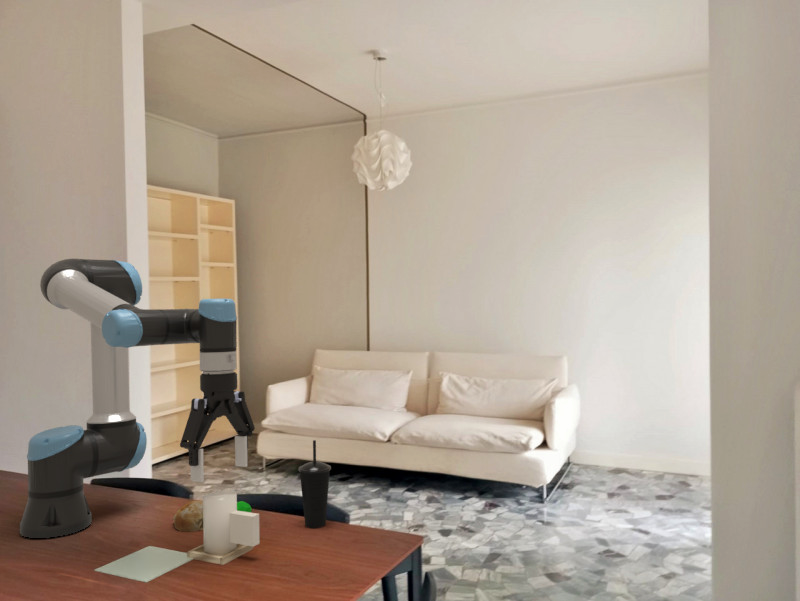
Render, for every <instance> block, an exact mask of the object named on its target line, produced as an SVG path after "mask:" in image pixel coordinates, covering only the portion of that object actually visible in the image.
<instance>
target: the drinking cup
mask: <svg viewBox="0 0 800 601" xmlns="http://www.w3.org/2000/svg"><path fill="white" fill-rule="evenodd" d="M331 470H332V466H331V465H329V464H327V463H326V462H322V461H317V441H316V440H312V461H309V462H307V463H304V464H303V465H300V466H299V467H298V471H299V476H300V488H301V496H302V506H303V507H302V509H303V517H304V527H306V528H308V527H309V529H320V528H323V527H324V526H326V525H327V524H326V523H327V522H326V521H327V509H328V497H329V483H330V472H331Z"/></svg>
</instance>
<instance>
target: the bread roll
mask: <svg viewBox="0 0 800 601" xmlns="http://www.w3.org/2000/svg"><path fill="white" fill-rule="evenodd" d="M172 521H173V523H174V524H173V525H174V528H175V529H176V530H177V531H180V532H198V531H203V500H200V499H199V500H198V499H197V500H191V501H189V502H187V503H185V504H184V505H182V506H181V507H180V508H179V509H177V511H176V513H175V515H173V517H172Z"/></svg>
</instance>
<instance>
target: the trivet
mask: <svg viewBox="0 0 800 601" xmlns="http://www.w3.org/2000/svg"><path fill="white" fill-rule="evenodd" d="M193 560H195V559H194V558H189V557H187V552H185V551H178V550H173V549H167V548H163V547H157V546H153V545H148V546H146V547H143V548H142V549H141V548H140V550H139V549H138V550H136V551H134V552H132V553H130V554H128V555H125V556H122V557H121V558H118V559H116V560H113V561H112V562H109V563H107V564H105V565H103V566H100V567H98V568H95V569H94V570H93V571H95V572H98V573H102V574H107V575H111V576H116V577H121V578H124V579H129V580H133V581H138V582H142V583H148V582H150V581H153V580H154V579H157V578H158V577H160V576H163V575H164V574H166V573H168V572H171V571H173V570H175V569H176V568H179V567H181V566H183V565H184V564H187V563H189V562H191V561H193Z"/></svg>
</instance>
